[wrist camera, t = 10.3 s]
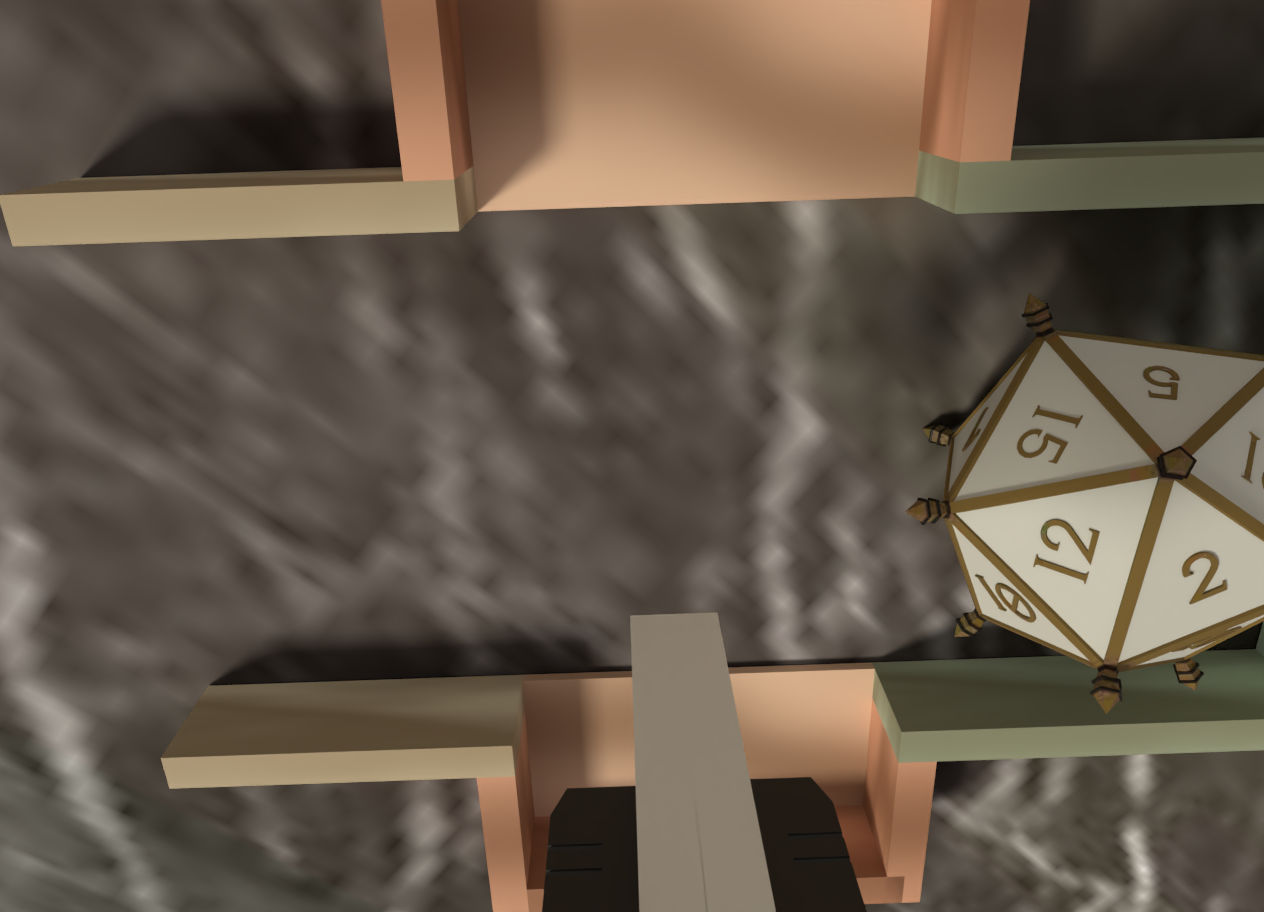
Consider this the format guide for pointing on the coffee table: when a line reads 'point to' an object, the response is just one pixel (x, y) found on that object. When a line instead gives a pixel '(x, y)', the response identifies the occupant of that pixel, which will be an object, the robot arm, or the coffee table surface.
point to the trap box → (671, 175)
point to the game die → (1111, 500)
